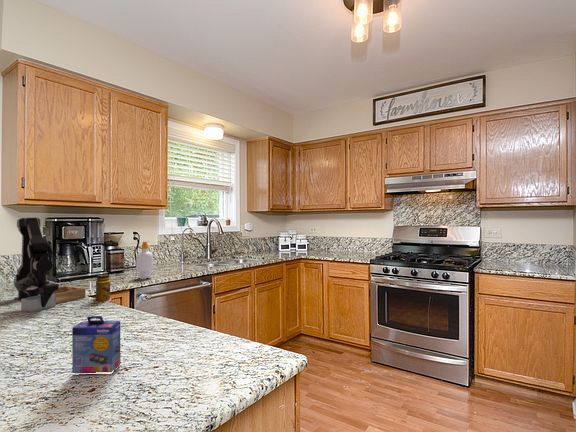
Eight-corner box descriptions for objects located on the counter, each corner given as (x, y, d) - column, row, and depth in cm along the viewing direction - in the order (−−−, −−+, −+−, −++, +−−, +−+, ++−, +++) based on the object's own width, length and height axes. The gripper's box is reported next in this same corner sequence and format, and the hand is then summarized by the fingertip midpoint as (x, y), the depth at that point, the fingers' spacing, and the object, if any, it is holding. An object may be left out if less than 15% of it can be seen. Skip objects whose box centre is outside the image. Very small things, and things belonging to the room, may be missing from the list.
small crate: (30, 312, 141) (30, 300, 141) (21, 310, 144) (21, 298, 144) (55, 306, 150) (55, 295, 150) (46, 305, 153) (46, 294, 153)
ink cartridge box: (70, 377, 83) (70, 318, 83) (82, 367, 89) (82, 311, 89) (112, 375, 84) (112, 317, 84) (121, 365, 90) (121, 311, 90)
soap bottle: (156, 278, 224) (156, 241, 224) (142, 280, 215) (142, 242, 215) (146, 276, 229) (146, 241, 229) (132, 278, 220) (133, 241, 221)
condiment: (111, 300, 161) (111, 275, 162) (91, 303, 157) (91, 277, 157) (110, 297, 168) (110, 273, 168) (90, 300, 163) (90, 275, 163)
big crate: (34, 301, 160) (34, 291, 160) (65, 294, 174) (65, 285, 174) (54, 304, 154) (54, 294, 154) (85, 297, 168) (85, 288, 168)
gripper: (4, 271, 143) (4, 308, 143) (31, 274, 136) (31, 313, 136) (33, 268, 154) (33, 302, 154) (59, 270, 146) (59, 306, 146)
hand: (38, 306), depth 147 cm, fingers closed on small crate, 6 cm apart
